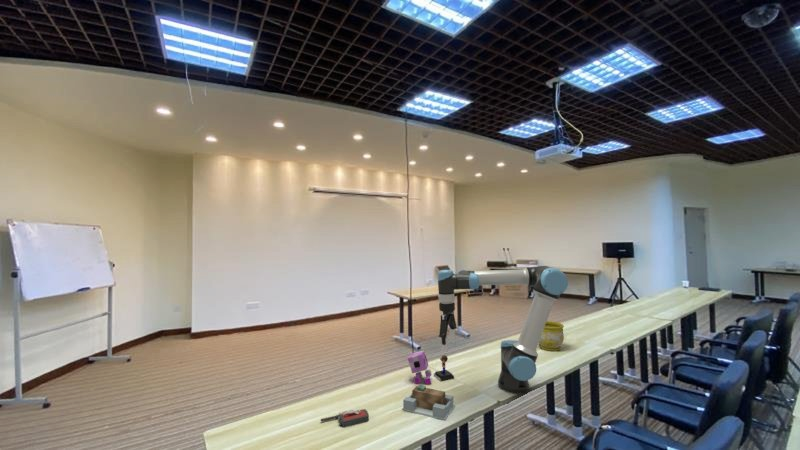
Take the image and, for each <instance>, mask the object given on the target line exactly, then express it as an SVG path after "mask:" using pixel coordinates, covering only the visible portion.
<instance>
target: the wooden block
mask: <svg viewBox="0 0 800 450" xmlns="http://www.w3.org/2000/svg"><path fill="white" fill-rule="evenodd" d="M411 392H412V393H411V394H412V398H414V399H417V407H419V408H424V409H428V410H432V411H433V406H434V404H435V403H437V404H441V405H446V401H445V394H446V391H444V390H443V391H442V390H438V389H435V388H434V389H433V388H429V387H427V386H426V385H422V384H419V385H416V386H415V387H414V388H413V389H412V390H411Z"/></svg>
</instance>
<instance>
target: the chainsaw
mask: <svg viewBox="0 0 800 450" xmlns="http://www.w3.org/2000/svg"><path fill="white" fill-rule="evenodd" d="M369 417H370V415H369V412H368V410H367V409H366V408H365V409H363V408H361V409H359V408H358V409H357V410H353V409H351V410H346V411H342V412H338V414H337V415H332V416H329V417H323V418H321V419H320V422H325V421H330V420H334V419H337V421H338V423H339V426H341V427H342V428H347V427H351V426H355V425H358V424H363V423H366V422H367V423H368V422H369V421H370V418H369Z"/></svg>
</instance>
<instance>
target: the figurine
mask: <svg viewBox="0 0 800 450" xmlns="http://www.w3.org/2000/svg"><path fill="white" fill-rule="evenodd" d="M448 359H449V357H448V356H447V355H445V354H444V355H442V356H441V357H440V358H439V360H440V361H441V367H442V369H441V370H437V371H435V373H433V377H434V378H435V379H437V380H438V381H439V382H445V381H450V380H455V375H454V374H453V373H452V372H450V371H449V370H447V369H446V362H448Z"/></svg>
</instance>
